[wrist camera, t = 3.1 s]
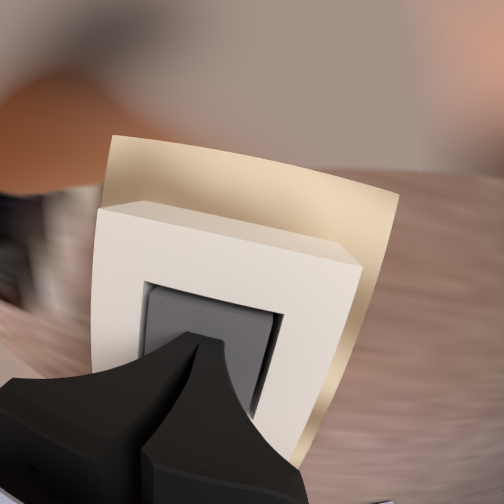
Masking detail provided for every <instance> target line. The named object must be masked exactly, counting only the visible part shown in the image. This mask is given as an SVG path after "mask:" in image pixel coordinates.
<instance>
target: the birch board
mask: <svg viewBox="0 0 504 504" xmlns="http://www.w3.org/2000/svg"><path fill="white" fill-rule="evenodd" d="M398 199H399V194H396V193H393V192H389V191H386V190H383V189H379V188H376V187H373V186H369V185H366V184H362V183H359V182H355V181H352V180H348V179H344V178H341V177H337V176H333V175H329V174H325V173H321V172H317V171H313V170H309V169H305V168H301V167H297V166H293V165H288V164H284V163H279V162H275V161H270V160H266V159H261V158H256V157H251V156H246V155H241V154H236V153H231V152H225V151H220V150H215V149H209V148H203V147H197V146H191V145H185V144H177V143H171V142H165V141H157V140H150V139H142V138H133V137H125V136H116V135H113V137H112V141H111V146H110V151H109V157H108V163H107V168H106V174H105V180H104V186H103V193H102V200H101V207H100V208H103V207H109V206H114V205H120V204H126V203H132V202H138V201H149V202H154V203H159V204H164V205H169V206H174V207H179V208H183V209H188V210H193V211H198V212H203V213H207V214H212V215H217V216H221V217H226V218H231V219H235V220H240V221H245V222H249V223H254V224H258V225H263V226H267V227H272V228H276V229H280V230H285V231H289V232H293V233H298V234H302V235H306V236H311V237H315V238H319V239H323V240H328V241H332V242H336V243H339V244H340V245H341V246H342V247H343V248H344V249H345V250H346V251H347V252H348V253H349V254H350V255H351V256H352V257H353V258H354V259H355V260H356V261H357V262H358V263H359V264H360V265H361V266H362V267H363V269H362V273H361V276H360V279H359V283H358V286H357V289H356V292H355V296H354V299H353V302H352V305H351V308H350V311H349V314H348V317H347V320H346V323H345V326H344V329H343V332H342V335H341V337H340V340H339V343H338V346H337V348H336V351H335V354H334V357H333V359H332V362H331V365H330V367H329V370H328V372H327V375H326V377H325V380H324V382H323V385H322V387H321V390H320V392H319V395H318V397H317V400H316V402H315V404H314V407H313V409H312V411H311V414H310V416H309V418H308V421H307V423H306V425H305V427H304V430H303V432H302V434H301V436H300V438H299V441H298V443H297V445H296V447H295V449H294V451H293V453H292V455H291V457H290V459H289V463H291V464H292V465H293V466H294V467H295V468H297V469H298V468H299V466H300V465H301V463H302V461H303V459H304V457H305V455H306V453H307V451H308V449H309V447H310V445H311V443H312V441H313V439H314V437H315V435H316V433H317V431H318V429H319V427H320V425H321V423H322V421H323V418H324V416H325V414H326V412H327V410H328V407H329V405H330V403H331V401H332V399H333V396H334V394H335V392H336V389H337V387H338V385H339V382H340V380H341V378H342V375H343V373H344V370H345V368H346V365H347V363H348V360H349V358H350V355H351V353H352V350H353V347H354V345H355V342H356V339H357V337H358V334H359V331H360V329H361V326H362V323H363V320H364V317H365V314H366V311H367V309H368V306H369V303H370V300H371V297H372V293H373V290H374V287H375V284H376V281H377V278H378V274H379V271H380V268H381V264H382V261H383V257H384V254H385V250H386V247H387V243H388V239H389V236H390V232H391V228H392V224H393V220H394V216H395V212H396V208H397V203H398Z"/></svg>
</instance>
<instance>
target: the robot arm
mask: <svg viewBox="0 0 504 504" xmlns="http://www.w3.org/2000/svg"><path fill="white" fill-rule="evenodd" d="M224 348H225V343H224V341H223V340H221V339H216V338H212V337H208V336H204V335H200V334H196V333H192V332H188V331H186V332H185V333H183V334H181V335H179V336H178V337H176V338H175V339H173V340H172V341H170V342H168V343H167V344H165V345H163V346H162V347H160V348H158V349H156V350H154V351H153V352H151V353H149V354H147V355H145V356H143V357H141V358H138V359H136V360H134V361H132V362H129V363H127V364H124V365H121V366H118V367H115V368H112V369H109V370H105V371H101V372H96V373H91V374H87V375H82V376H75V377H67V378H55V379H23V378H12V379H10V380H9V381H8V382H7V383H6V384H4V385H3V386H2V387H1V388H0V504H309V503H308V498H307V494H306V490H305V486H304V483H303V479H302V476H301V473H300V471H299V470H298V469H297V468H295V467H294V466H293V465H292V464H291V463H289V462H288V461H287V460H286V459H285V458H283V457H282V456H281V455H280V454H279V453H278V452H277V451H276V450H275V449H274V448H273V447H272V446H271V445H270V444H269V443H268V442H267V441H266V440H265V439H264V437H263V436H262V435H261V433H260V432H259V431H258V429H257V428H256V427H255V426H254V424H253V423H252V421H251V420H250V418H249V417H248V415H247V413H246V412H245V410H244V408H243V406H242V405H241V403H240V401H239V399H238V397H237V394H236V392H235V390H234V387H233V384H232V382H231V379H230V376H229V372H228V368H227V364H226V359H225V351H224ZM380 504H394V502H392V501H389V502H384V503H380Z"/></svg>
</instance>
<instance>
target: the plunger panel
mask: <svg viewBox="0 0 504 504" xmlns="http://www.w3.org/2000/svg"><path fill="white" fill-rule="evenodd" d="M362 269H363V267H362V266H361V265H360V264H359V263H358V262H357V261H356V260H355V259H354V258H353V257H352V256H351V255H350V254H349V253H348V252H347V251H346V250H345V249H344V248H343V247H342V246H341V245H340V244H339V243H336V242H332V241H328V240H323V239H319V238H315V237H311V236H306V235H302V234H298V233H293V232H289V231H285V230H280V229H276V228H272V227H267V226H263V225H258V224H254V223H249V222H245V221H240V220H235V219H231V218H226V217H221V216H217V215H212V214H207V213H203V212H198V211H193V210H188V209H183V208H179V207H174V206H169V205H164V204H159V203H154V202H149V201H138V202H132V203H126V204H120V205H114V206H109V207H103V208H98V213H97V222H96V231H95V242H94V254H93V269H92V289H91V357H92V373H96V372H101V371H105V370H109V369H112V368H115V367H118V366H121V365H124V364H127V363H129V362H132V361H134V360H136V359H138V358H141V357H143V356H144V353H145V339H146V327H147V316H148V305H149V296H150V292H151V291H153V290H154V289H155V288H156V287H157V286H158V285H162V286H166V287H170V288H174V289H178V290H182V291H186V292H190V293H194V294H198V295H202V296H206V297H210V298H214V299H218V300H223V301H227V302H231V303H236V304H240V305H244V306H249V307H253V308H258V309H262V310H267V311H272V312H273V323H272V327H271V331H270V335H269V338H268V342H267V346H266V349H265V353H264V357H263V360H262V364H261V367H260V371H259V375H258V378H257V382H256V385H255V389H254V392H253V396H252V399H251V402H250V406H249V409H248V413H247V415H248V417H249V418H250V420H251V421H252V423H253V424H254V426H255V427H256V428H257V429H258V431H259V432H260V433H261V435H262V436H263V437H264V439H265V440H266V441H267V442H268V443H269V444H270V445H271V446H272V447H273V448H274V449H275V450H276V451H277V452H278V453H279V454H280V455H281V456H282V457H283V458H285V459H286V460H287V461H288V462H289V459H290V457H291V455H292V453H293V451H294V449H295V447H296V445H297V443H298V441H299V438H300V436H301V434H302V432H303V430H304V427H305V425H306V423H307V421H308V418H309V416H310V414H311V411H312V409H313V407H314V404H315V402H316V400H317V397H318V395H319V392H320V390H321V387H322V385H323V382H324V380H325V377H326V375H327V372H328V370H329V367H330V365H331V362H332V359H333V357H334V354H335V351H336V348H337V346H338V343H339V340H340V337H341V335H342V332H343V329H344V326H345V323H346V320H347V317H348V314H349V311H350V308H351V305H352V302H353V299H354V296H355V292H356V289H357V286H358V283H359V279H360V276H361V273H362Z"/></svg>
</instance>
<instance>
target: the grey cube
mask: <svg viewBox="0 0 504 504" xmlns="http://www.w3.org/2000/svg"><path fill="white" fill-rule="evenodd" d="M272 323H273V312H272V311H267V310H262V309H258V308H253V307H249V306H244V305H240V304H236V303H231V302H227V301H223V300H218V299H214V298H210V297H206V296H202V295H198V294H194V293H190V292H186V291H182V290H178V289H174V288H170V287H166V286H162V285H158V286H157V287H156V288H155V289H154V290H153V291H151V292H150V296H149V305H148V316H147V327H146V339H145V353H144V356H145V355H147V354H149V353H151V352H153V351H154V350H156V349H158V348H160V347H162V346H163V345H165V344H167V343H168V342H170V341H172V340H173V339H175V338H176V337H178V336H179V335H181V334H183V333H185V332H186V331H188V332H192V333H196V334H200V335H204V336H208V337H212V338H216V339H221V340H223V341H224V343H225V348H224V351H225V359H226V364H227V368H228V372H229V376H230V379H231V382H232V384H233V387H234V390H235V392H236V394H237V397H238V399H239V401H240V403H241V405H242V406H243V408H244V410H245V412H246V413H248V409H249V406H250V402H251V399H252V396H253V392H254V389H255V385H256V382H257V378H258V375H259V371H260V367H261V364H262V360H263V357H264V353H265V349H266V346H267V342H268V338H269V335H270V331H271V327H272Z"/></svg>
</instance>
